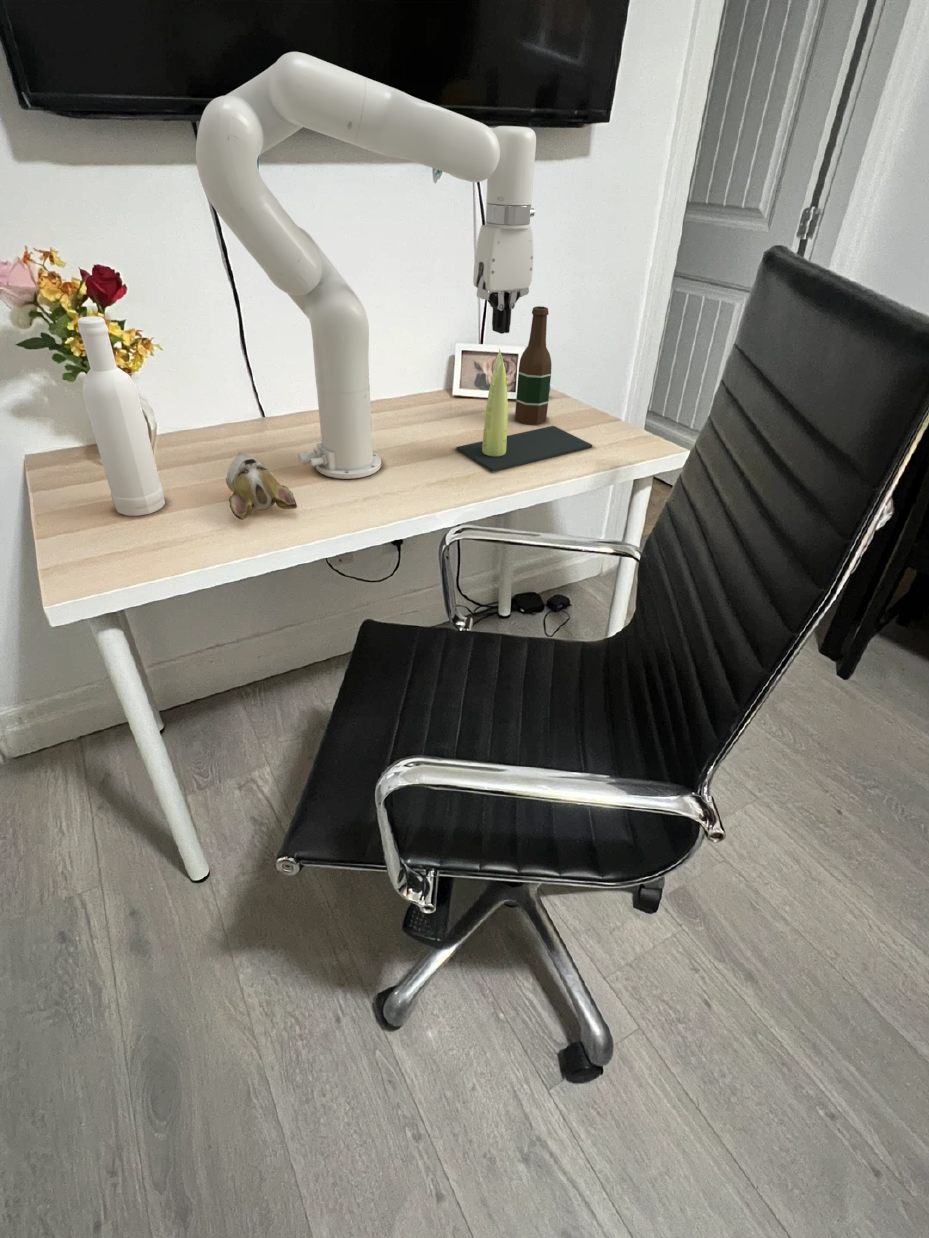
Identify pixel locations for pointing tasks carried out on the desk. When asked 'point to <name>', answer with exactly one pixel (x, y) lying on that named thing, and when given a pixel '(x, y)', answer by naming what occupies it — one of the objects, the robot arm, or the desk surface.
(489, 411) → the tube
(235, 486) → the ceramic sculpture
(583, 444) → the mat
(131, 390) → the bottle
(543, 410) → the beer bottle
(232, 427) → the desk surface
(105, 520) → the desk surface
